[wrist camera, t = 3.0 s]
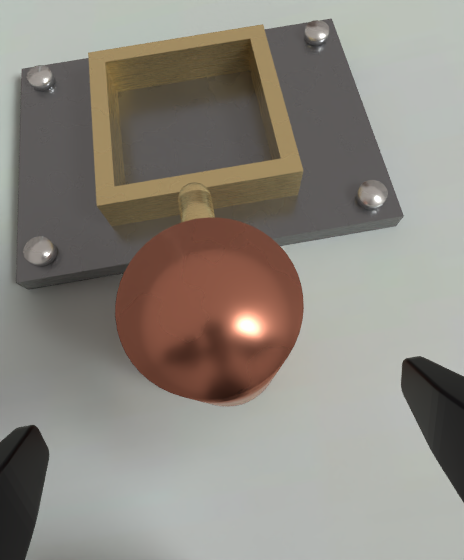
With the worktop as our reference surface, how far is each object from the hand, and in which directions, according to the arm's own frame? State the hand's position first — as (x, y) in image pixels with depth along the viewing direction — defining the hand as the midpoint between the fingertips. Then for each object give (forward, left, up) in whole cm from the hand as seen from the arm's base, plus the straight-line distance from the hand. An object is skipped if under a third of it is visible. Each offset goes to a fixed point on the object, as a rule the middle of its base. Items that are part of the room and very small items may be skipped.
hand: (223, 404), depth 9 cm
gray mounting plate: (+15, +6, -11) cm, 20 cm away
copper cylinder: (+4, +2, -11) cm, 12 cm away
